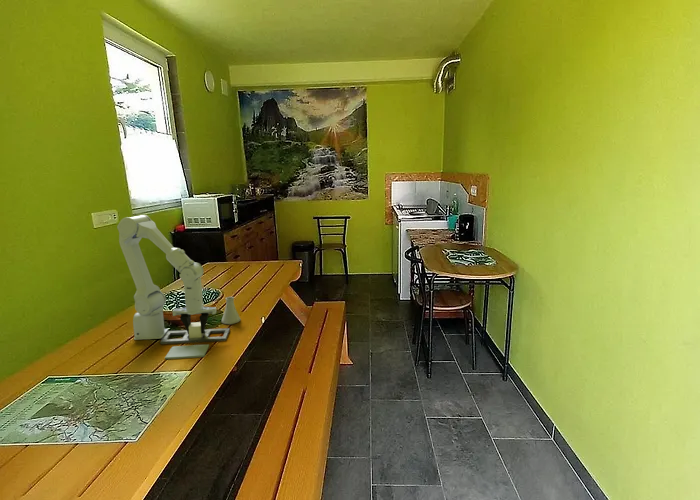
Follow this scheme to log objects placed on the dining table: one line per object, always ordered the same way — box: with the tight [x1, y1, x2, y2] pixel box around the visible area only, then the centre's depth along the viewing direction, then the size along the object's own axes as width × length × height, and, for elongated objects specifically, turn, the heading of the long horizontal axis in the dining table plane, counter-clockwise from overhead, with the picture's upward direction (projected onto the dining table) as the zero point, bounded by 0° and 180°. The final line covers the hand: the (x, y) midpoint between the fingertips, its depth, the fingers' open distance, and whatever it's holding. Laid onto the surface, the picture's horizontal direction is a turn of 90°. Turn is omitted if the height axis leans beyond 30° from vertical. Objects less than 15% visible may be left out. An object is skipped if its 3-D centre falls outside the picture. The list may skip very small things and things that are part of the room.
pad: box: [164, 344, 210, 360], centre depth 125 cm, size 12×8×1 cm, turn 99°
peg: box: [189, 321, 204, 338], centre depth 136 cm, size 4×4×5 cm
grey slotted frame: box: [159, 327, 231, 345], centre depth 137 cm, size 22×9×1 cm, turn 99°
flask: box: [220, 296, 242, 325], centre depth 151 cm, size 7×7×10 cm
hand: (196, 332), depth 136 cm, fingers closed on peg, 4 cm apart
